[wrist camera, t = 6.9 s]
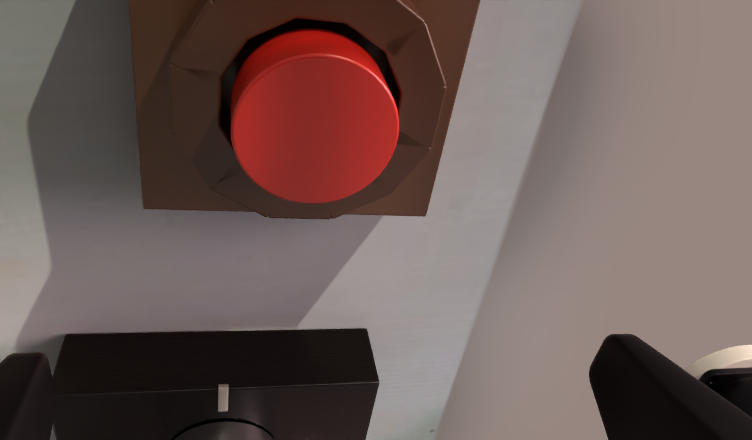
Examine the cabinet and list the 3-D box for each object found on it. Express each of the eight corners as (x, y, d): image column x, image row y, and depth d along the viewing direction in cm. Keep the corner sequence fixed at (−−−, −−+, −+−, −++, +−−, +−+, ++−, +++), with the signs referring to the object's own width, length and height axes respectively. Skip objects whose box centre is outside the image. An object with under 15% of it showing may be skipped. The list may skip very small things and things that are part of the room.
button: (398, 35, 15) (414, 62, 14) (373, 172, 17) (385, 207, 16) (233, 18, 14) (232, 45, 13) (229, 166, 16) (228, 203, 15)
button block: (472, -88, 17) (525, -56, 14) (411, 182, 22) (440, 250, 19) (132, -140, 15) (104, -117, 12) (150, 171, 20) (135, 246, 17)
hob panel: (368, 322, 26) (382, 381, 24) (342, 442, 31) (351, 501, 29) (63, 327, 23) (43, 394, 21) (88, 459, 28) (73, 526, 26)
